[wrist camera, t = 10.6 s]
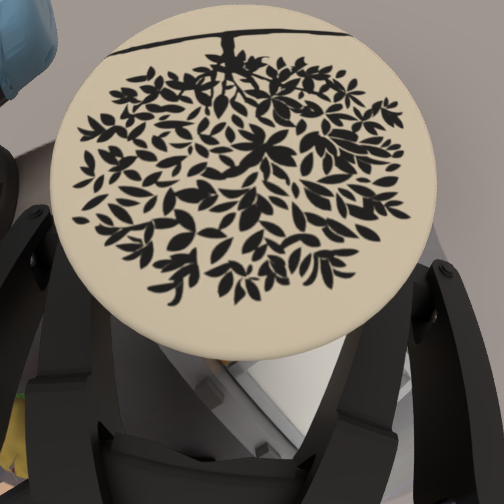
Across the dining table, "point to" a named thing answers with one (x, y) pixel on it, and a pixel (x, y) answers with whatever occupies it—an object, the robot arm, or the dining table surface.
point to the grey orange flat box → (266, 394)
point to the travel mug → (243, 183)
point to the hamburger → (15, 441)
